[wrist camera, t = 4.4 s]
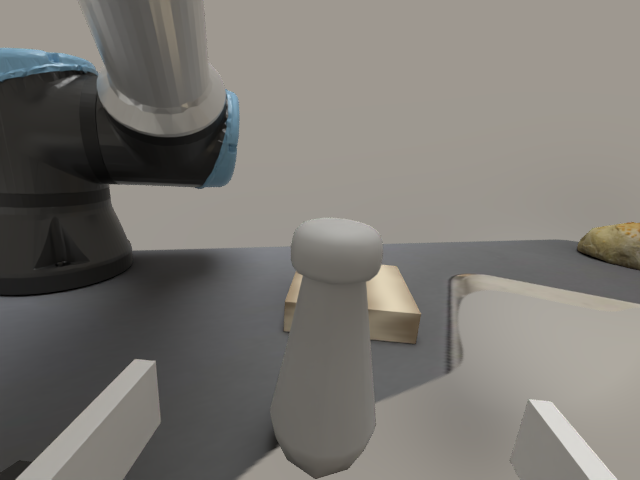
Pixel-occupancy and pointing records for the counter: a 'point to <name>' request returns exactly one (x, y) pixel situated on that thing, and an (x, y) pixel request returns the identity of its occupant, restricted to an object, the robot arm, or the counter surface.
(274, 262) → the counter surface
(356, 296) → the salt shaker
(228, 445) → the counter surface
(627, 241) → the pastry
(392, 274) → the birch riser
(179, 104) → the robot arm
